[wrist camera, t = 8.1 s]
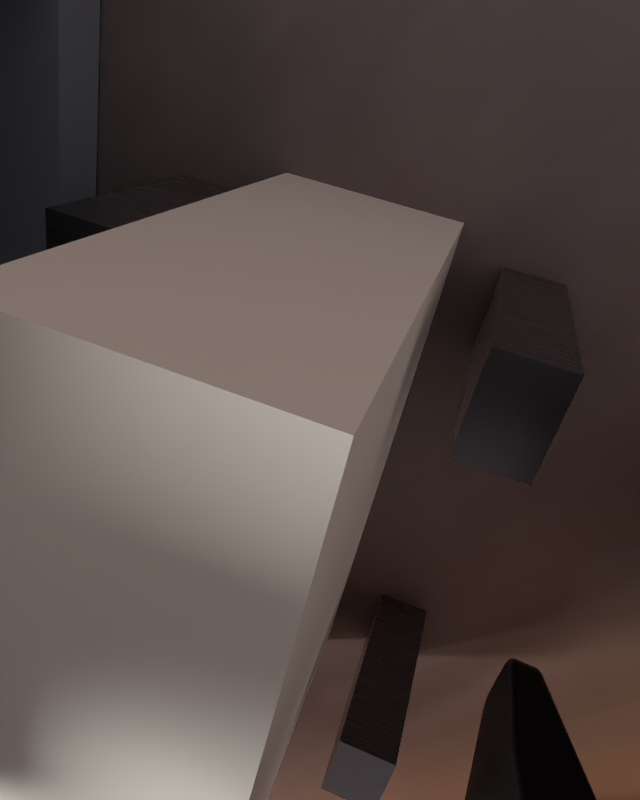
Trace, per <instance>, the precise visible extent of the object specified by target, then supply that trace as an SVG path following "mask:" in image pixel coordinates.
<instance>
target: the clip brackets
mask: <svg viewBox="0 0 640 800" xmlns="http://www.w3.org/2000/svg"><path fill="white" fill-rule="evenodd" d="M231 190H232V189H229V188H225V187H222V186H218V185H215V184H211V183H208V182H204V181H201V180H197V179H194V178H191V177H187V176H184V175H183V176H179V177H175V178H170V179H166V180H162V181H158V182H153V183H149V184H145V185H141V186H136V187H132V188H128V189H124V190H119V191H115V192H111V193H107V194H102V195H98V196H94V197H89V198H85V199H81V200H77V201H72V202H68V203H64V204H60V205H55V206H51V207H47V208H45V212H46V250H48V249H51V248H54V247H57V246H60V245H63V244H67V243H70V242H73V241H76V240H79V239H82V238H85V237H88V236H91V235H94V234H98V233H101V232H104V231H107V230H110V229H113V228H116V227H119V226H122V225H126V224H129V223H132V222H135V221H138V220H141V219H144V218H147V217H150V216H153V215H157V214H160V213H163V212H166V211H169V210H172V209H175V208H178V207H181V206H185V205H188V204H191V203H194V202H197V201H200V200H203V199H206V198H209V197H212V196H216V195H219V194H222V193H225V192H228V191H231ZM583 376H584V373H583V368H582V363H581V358H580V353H579V347H578V342H577V337H576V332H575V327H574V321H573V316H572V311H571V306H570V301H569V296H568V290H567V286H564V285H561V284H557V283H554V282H551V281H547V280H544V279H540V278H537V277H533V276H530V275H526V274H523V273H519V272H516V271H512V270H509V269H506V268H503V270H502V272H501V275H500V278H499V280H498V283H497V286H496V289H495V291H494V294H493V297H492V299H491V302H490V305H489V308H488V310H487V313H486V316H485V318H484V321H483V324H482V326H481V329H480V332H479V335H478V337H477V340H476V343H475V345H474V348H473V351H472V354H471V359H470V363H469V368H468V372H467V377H466V381H465V386H464V390H463V395H462V399H461V404H460V408H459V413H458V417H457V422H456V426H455V431H454V435H453V439H452V444H451V448H450V453H449V458H452V459H455V460H458V461H461V462H464V463H467V464H470V465H472V466H475V467H478V468H481V469H484V470H487V471H490V472H493V473H496V474H499V475H501V476H504V477H507V478H510V479H513V480H516V481H519V482H522V483H525V484H528V485H530V486H531V484H532V482H533V480H534V478H535V476H536V474H537V472H538V470H539V467H540V465H541V463H542V461H543V459H544V457H545V455H546V453H547V451H548V449H549V447H550V445H551V443H552V440H553V438H554V436H555V434H556V432H557V430H558V428H559V426H560V424H561V422H562V420H563V418H564V416H565V413H566V411H567V409H568V407H569V405H570V403H571V401H572V399H573V397H574V395H575V393H576V391H577V389H578V387H579V384H580V382H581V380H582V378H583ZM425 617H426V612H423V611H421V610H418V609H416V608H413V607H410V606H408V605H405V604H403V603H400V602H398V601H395V600H392V599H390V598H387V597H385V596H382V597H381V600H380V603H379V606H378V608H377V611H376V614H375V616H374V619H373V622H372V624H371V627H370V630H369V633H368V635H367V638H366V641H365V644H364V647H363V651H362V654H361V657H360V661H359V664H358V667H357V671H356V674H355V677H354V681H353V684H352V687H351V691H350V694H349V697H348V701H347V704H346V707H345V711H344V714H343V717H342V721H341V724H340V727H339V731H338V734H337V737H336V741H335V744H334V747H333V751H332V754H331V757H330V761H329V764H328V767H327V771H326V774H325V777H324V781H323V784H322V787H321V788H322V789H324V790H327V791H329V792H331V793H333V794H335V795H338V796H340V797H342V798H344V799H346V800H380V797H381V795H382V793H383V791H384V789H385V787H386V785H387V783H388V781H389V779H390V777H391V775H392V773H393V770H394V768H395V766H396V762H397V757H398V752H399V747H400V742H401V737H402V732H403V727H404V722H405V717H406V712H407V707H408V702H409V697H410V692H411V687H412V682H413V677H414V672H415V667H416V662H417V657H418V652H419V647H420V642H421V637H422V632H423V627H424V622H425Z"/></svg>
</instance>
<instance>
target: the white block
mask: <svg viewBox="0 0 640 800" xmlns="http://www.w3.org/2000/svg"><path fill="white" fill-rule="evenodd" d="M463 225H464V223H462V222H459V221H455V220H452V219H448V218H445V217H441V216H438V215H434V214H431V213H427V212H424V211H420V210H417V209H413V208H409V207H406V206H402V205H399V204H395V203H392V202H388V201H385V200H381V199H378V198H374V197H371V196H367V195H364V194H360V193H357V192H353V191H350V190H346V189H343V188H339V187H336V186H332V185H329V184H325V183H321V182H318V181H314V180H311V179H307V178H304V177H300V176H297V175H293V174H290V173H284V174H281V175H278V176H275V177H271V178H268V179H265V180H262V181H259V182H256V183H253V184H250V185H247V186H244V187H240V188H237V189H234V190H231V191H228V192H225V193H222V194H219V195H216V196H212V197H209V198H206V199H203V200H200V201H197V202H194V203H191V204H188V205H185V206H181V207H178V208H175V209H172V210H169V211H166V212H163V213H160V214H157V215H153V216H150V217H147V218H144V219H141V220H138V221H135V222H132V223H129V224H126V225H122V226H119V227H116V228H113V229H110V230H107V231H104V232H101V233H98V234H94V235H91V236H88V237H85V238H82V239H79V240H76V241H73V242H70V243H67V244H63V245H60V246H57V247H54V248H51V249H48V250H45V251H42V252H39V253H35V254H32V255H29V256H26V257H23V258H20V259H17V260H14V261H11V262H8V263H4V264H1V265H0V800H268V798H269V795H270V793H271V790H272V787H273V785H274V782H275V779H276V777H277V774H278V771H279V769H280V766H281V763H282V761H283V758H284V755H285V753H286V750H287V747H288V745H289V742H290V739H291V737H292V734H293V731H294V728H295V726H296V723H297V720H298V718H299V715H300V712H301V710H302V707H303V704H304V702H305V699H306V696H307V694H308V691H309V688H310V686H311V683H312V680H313V678H314V675H315V672H316V670H317V667H318V664H319V662H320V659H321V656H322V653H323V651H324V648H325V645H326V643H327V640H328V637H329V634H330V631H331V628H332V625H333V622H334V619H335V616H336V613H337V610H338V607H339V604H340V601H341V597H342V594H343V591H344V588H345V585H346V582H347V579H348V576H349V573H350V570H351V567H352V564H353V561H354V558H355V555H356V552H357V549H358V546H359V543H360V540H361V536H362V533H363V530H364V527H365V524H366V521H367V518H368V515H369V512H370V509H371V506H372V503H373V500H374V497H375V494H376V491H377V488H378V485H379V482H380V479H381V475H382V472H383V469H384V466H385V463H386V460H387V457H388V454H389V451H390V448H391V445H392V442H393V439H394V436H395V433H396V430H397V427H398V424H399V421H400V418H401V414H402V411H403V408H404V405H405V402H406V399H407V396H408V393H409V390H410V387H411V384H412V381H413V378H414V375H415V372H416V369H417V366H418V363H419V360H420V357H421V353H422V350H423V347H424V344H425V341H426V338H427V335H428V332H429V329H430V326H431V323H432V320H433V317H434V314H435V311H436V308H437V305H438V302H439V299H440V296H441V293H442V289H443V286H444V283H445V280H446V277H447V274H448V271H449V268H450V265H451V262H452V259H453V256H454V253H455V250H456V247H457V244H458V241H459V238H460V235H461V232H462V228H463Z"/></svg>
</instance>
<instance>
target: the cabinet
mask: <svg viewBox="0 0 640 800" xmlns="http://www.w3.org/2000/svg"><path fill="white" fill-rule="evenodd" d="M99 35H100V0H0V265H1V264H4V263H8V262H11V261H14V260H17V259H20V258H23V257H26V256H29V255H32V254H35V253H39V252H42V251H45V250H46V212H45V208H47V207H51V206H55V205H60V204H64V203H68V202H72V201H77V200H81V199H85V198H89V197H94V196H96V174H97V127H98V81H99Z"/></svg>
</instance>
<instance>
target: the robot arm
mask: <svg viewBox="0 0 640 800" xmlns="http://www.w3.org/2000/svg"><path fill="white" fill-rule="evenodd" d="M465 800H596V797H595V795H594V793H593V791H592V788H591V786H590V784H589V781H588V779H587V777H586V774H585V772H584V770H583V768H582V765H581V763H580V761H579V758H578V756H577V754H576V751H575V749H574V747H573V745H572V742H571V740H570V738H569V735H568V733H567V731H566V728H565V726H564V724H563V721H562V719H561V717H560V715H559V712H558V710H557V708H556V705H555V703H554V701H553V698H552V696H551V694H550V692H549V689H548V687H547V685H546V682H545V680H544V678H543V675H542V673H541V672H540V671H539V670H538V669H537V668H535V667H533V666H531V665H528V664H526V663H524V662H521V661H519V660H517V659H509V660H508V661H507V662H506V663H505V665H504V667H503V668H502V670H501V672H500V674H499V676H498V677H497V679H496V681H495V683H494V684H493V686H492V688H491V690H490V692H489V694H488V696H487V699H486V702H485V705H484V709H483V714H482V719H481V724H480V729H479V733H478V738H477V743H476V748H475V753H474V758H473V763H472V768H471V772H470V777H469V782H468V787H467V792H466V797H465Z"/></svg>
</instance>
